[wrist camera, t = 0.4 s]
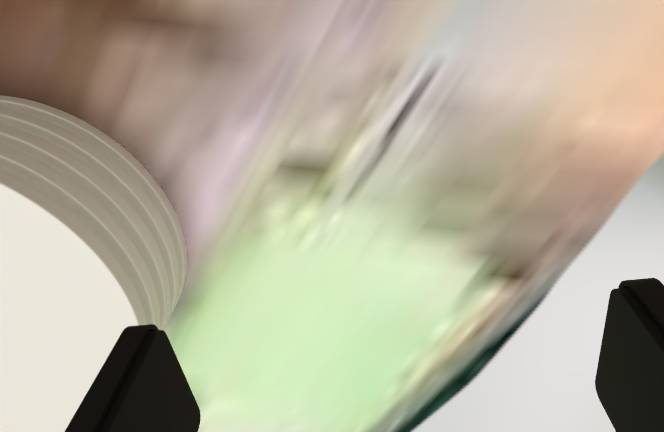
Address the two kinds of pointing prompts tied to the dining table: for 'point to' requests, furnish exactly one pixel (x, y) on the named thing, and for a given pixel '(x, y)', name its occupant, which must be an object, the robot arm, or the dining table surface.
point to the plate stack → (74, 259)
